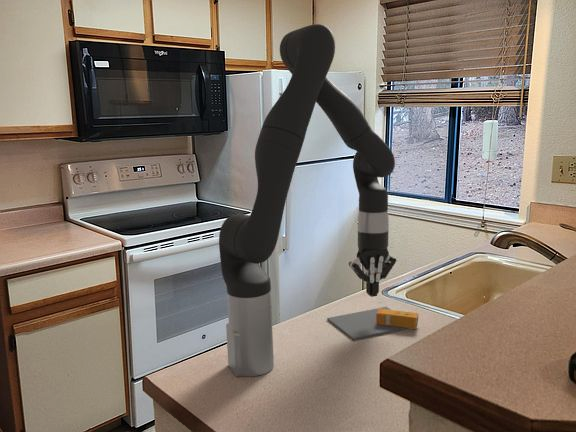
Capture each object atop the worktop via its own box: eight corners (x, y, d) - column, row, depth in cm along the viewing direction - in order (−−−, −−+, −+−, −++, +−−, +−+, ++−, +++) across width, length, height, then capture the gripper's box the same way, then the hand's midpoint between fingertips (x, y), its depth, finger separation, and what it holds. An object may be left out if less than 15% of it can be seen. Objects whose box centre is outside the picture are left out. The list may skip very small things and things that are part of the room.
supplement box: (376, 325, 133) (416, 329, 129) (375, 313, 132) (416, 316, 129) (379, 320, 136) (418, 324, 132) (378, 307, 135) (418, 311, 132)
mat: (353, 340, 126) (353, 338, 125) (327, 320, 138) (327, 317, 138) (416, 327, 132) (416, 324, 132) (386, 308, 145) (386, 306, 145)
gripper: (387, 223, 136) (386, 287, 139) (342, 228, 131) (342, 294, 135) (404, 228, 129) (403, 296, 133) (357, 234, 125) (356, 304, 128)
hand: (372, 295), depth 134 cm, fingers closed
